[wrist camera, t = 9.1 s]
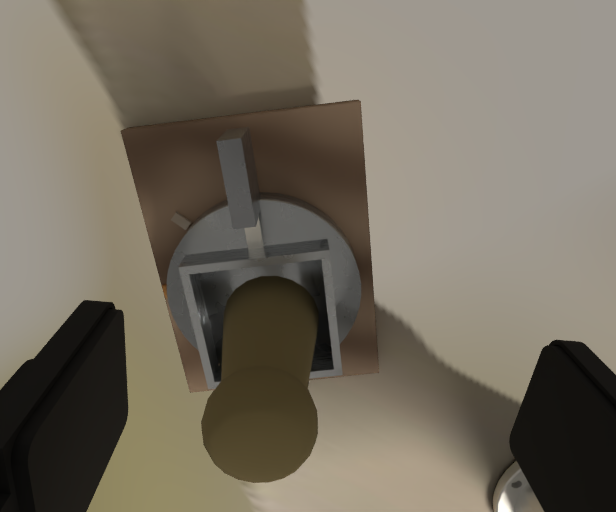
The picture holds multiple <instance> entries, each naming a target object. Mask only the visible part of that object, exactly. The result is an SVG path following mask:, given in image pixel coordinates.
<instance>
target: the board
mask: <svg viewBox="0 0 616 512" xmlns="http://www.w3.org/2000/svg"><path fill="white" fill-rule="evenodd" d="M244 127H249V128H250V134H251V141H252V147H253V153H254V159H255V166H256V172H257V178H258V184H259V191H260V192H268V193H279V194H284V195H289V196H292V197H295V198H298V199H301V200H304V201H306V202H308V203H310V204H312V205H314V206H315V207H317V208H318V209H320V210H321V211H323V212H324V213H325V214H327V215H328V216H329V217H330V218H331V219H332V220H333V221H334V222H335V223H336V224H337V225H338V226H339V227H340V229H341V230H342V231H343V233H344V234H345V236H346V237H347V239H348V241H349V243H350V245H351V247H352V250H353V253H354V256H355V259H356V263H357V267H358V270H359V274H360V281H361V300H360V307H359V310H358V314H357V317H356V320H355V322H354V324H353V326H352V328H351V330H350V331H349V333H348V334H347V336H346V337H345V339H344V340H343V341H342V342H341V343H340V355H341V364H342V374H343V375H340V376H330V377H321V378H311V379H309V380H313V379H322V378H332V377H341V376H351V375H360V374H370V373H379V364H378V349H377V335H376V320H375V305H374V291H373V276H372V261H371V247H370V234H369V233H370V232H369V218H368V203H367V188H366V174H365V158H364V144H363V130H362V115H361V101H359V100H352V101H343V102H335V103H327V104H319V105H311V106H303V107H294V108H286V109H278V110H270V111H262V112H254V113H245V114H237V115H229V116H221V117H213V118H205V119H196V120H188V121H180V122H172V123H164V124H156V125H147V126H139V127H131V128H126V129H124V130H121V134H122V138H123V141H124V145H125V149H126V153H127V156H128V160H129V164H130V168H131V171H132V175H133V179H134V183H135V187H136V190H137V194H138V198H139V202H140V205H141V209H142V213H143V217H144V220H145V224H146V228H147V232H148V235H149V239H150V243H151V247H152V250H153V254H154V258H155V262H156V266H157V269H158V273H159V277H160V281H161V284H162V288H163V292H164V296H165V299H166V303H167V307H168V311H169V315H170V319H171V322H172V326H173V330H174V334H175V337H176V341H177V345H178V349H179V352H180V356H181V360H182V364H183V367H184V371H185V375H186V379H187V383H188V386H189V390H190V392H199V391H209V390H215V389H208V386H207V382H206V378H205V374H204V370H203V366H202V362H201V358H200V354H199V351H198V350H197V349H196V348H195V347H194V346H193V345H192V344H191V343H190V342H189V341H188V340H187V339H186V338H185V336H184V335H183V334H182V332H181V331H180V329H179V328H178V326H177V324H176V322H175V320H174V318H173V316H172V313H171V310H170V307H169V303H168V297H167V274H168V269H169V265H170V261H171V259H172V257H173V254H174V252H175V250H176V248H177V246H178V245H179V243H180V242H181V240H182V238H183V237H184V235H185V234H186V232H187V231H188V229H189V228H190V227H191V225H192V224H193V223H194V222H195V221H196V220H197V219H198V218H199V217H200V216H201V215H202V214H203V213H204V212H205V211H207V210H208V209H210V208H211V207H213V206H214V205H216V204H218V203H220V202H222V201H224V200H226V199H227V195H226V190H225V185H224V179H223V174H222V169H221V163H220V158H219V153H218V148H217V142H216V141H217V140H218V139H219V138H220V137H221V136H222V135H223V134H224V133H225V132H226V131H227V130H228V129H235V128H244ZM331 353H332V352H331ZM219 365H220V364H219Z"/></svg>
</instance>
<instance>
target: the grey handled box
mask: <svg viewBox="0 0 616 512" xmlns="http://www.w3.org/2000/svg"><path fill="white" fill-rule="evenodd" d="M216 142H217V148H218V153H219V158H220V163H221V169H222V174H223V179H224V185H225V190H226V195H227V199H226V200H224V201H222V202H220V203H218V204H216V205H214V206H213V207H211V208H210V209H208V210H207V211H205V212H204V213H203V214H202V215H201V216H200V217H199V218H198V219H197V220H196V221H195V222H194V223H193V224H192V225H191V227H190V228H189V229H188V231H187V232H186V234H185V235H184V237H183V238H182V240H181V242H180V243H179V245H178V246H177V248H176V250H175V252H174V254H173V257H172V259H171V261H170V265H169V269H168V274H167V297H168V303H169V307H170V310H171V313H172V316H173V318H174V320H175V322H176V324H177V326H178V328H179V329H180V331H181V332H182V334H183V335H184V336H185V338H186V339H187V340H188V341H189V342H190V343H191V344H192V345H193V346H194V347H195V348H196V349H197V350H198V351H199V354H200V358H201V362H202V366H203V370H204V374H205V378H206V382H207V386H208V389H216V387H217V386H218V385H219V383H220V382H221V373H222V346H223V318H224V310H225V306H226V303H227V300H228V298H229V297H230V296H231V294H232V293H233V292H234V290H235V289H236V288H238V287H239V286H240V285H242V284H243V283H245V282H246V281H248V280H251V279H254V278H257V277H260V276H280V277H283V278H287V279H291V280H293V281H295V282H296V283H298V284H300V285H301V286H303V287H304V288H305V289H306V290H307V291H308V292H309V293H310V295H311V296H312V297H313V298H314V300H315V303H316V305H317V308H318V311H319V325H318V331H317V337H316V342H315V348H314V354H313V360H312V365H311V371H310V377H309V379H311V378H321V377H330V376H340V375H343V374H342V364H341V355H340V343H341V342H342V341H343V340H344V339H345V337H346V336H347V334H348V333H349V331H350V330H351V328H352V326H353V324H354V322H355V320H356V317H357V314H358V310H359V307H360V300H361V281H360V274H359V270H358V267H357V263H356V259H355V256H354V253H353V250H352V247H351V245H350V243H349V241H348V239H347V237H346V236H345V234H344V233H343V231H342V230H341V229H340V227H339V226H338V225H337V224H336V223H335V222H334V221H333V220H332V219H331V218H330V217H329V216H328V215H327V214H325V213H324V212H323V211H321V210H320V209H318V208H317V207H315V206H314V205H312V204H310V203H308V202H306V201H304V200H301V199H298V198H295V197H292V196H289V195H284V194H279V193H268V192H260V191H259V184H258V178H257V172H256V166H255V159H254V153H253V147H252V141H251V134H250V128H249V127H244V128H235V129H228V130H227V131H226V132H225V133H224V134H223V135H222V136H221V137H220V138H219V139H218V140H217V141H216ZM331 352H332V353H331ZM219 364H220V365H219Z"/></svg>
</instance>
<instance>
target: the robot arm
mask: <svg viewBox="0 0 616 512" xmlns="http://www.w3.org/2000/svg"><path fill="white" fill-rule="evenodd" d="M127 395H128V394H127V374H126V353H125V333H124V315H123V311H122V310H116V309H115V306H114V304H113V303H112V302H101V301H89V300H85V301H83V302H82V303H81V304H80V305H79V306H78V307H77V308H76V310H75V311H74V312H73V313H72V314H71V316H70V317H69V318H68V319H67V320H66V321H65V323H64V324H63V325H62V326H61V327H60V329H59V330H58V331H57V332H56V333H55V334H54V336H53V337H52V338H51V339H50V340H49V341H48V343H47V344H46V345H45V346H44V347H43V349H42V350H41V351H40V352H39V353H38V354H37V356H36V357H35V358H34V359H31V360H27V361H26V362H25V363H24V364H23V365H22V366H21V367H20V368H19V369H18V370H17V371H16V373H15V374H14V375H13V376H12V377H11V378H10V380H9V381H8V382H7V383H6V384H5V385H4V386H3V388H2V389H1V390H0V512H86V511H87V509H88V507H89V504H90V502H91V500H92V498H93V496H94V494H95V491H96V489H97V487H98V485H99V482H100V480H101V478H102V476H103V474H104V471H105V469H106V467H107V465H108V462H109V460H110V458H111V456H112V454H113V451H114V449H115V447H116V445H117V442H118V440H119V438H120V436H121V434H122V432H123V429H124V427H125V424H126V421H127V416H128V396H127ZM509 442H510V448H511V451H512V454H513V455H514V457H515V459H516V461H515V462H514V463H513V464H512V465H511V466H510V467H509V468H508V469H507V470H506V471H505V473H504V474H503V475H502V477H501V478H500V480H499V481H498V484H497V486H496V488H495V490H494V496H493V510H494V512H616V375H615V374H614V373H613V372H612V371H611V370H610V369H609V368H608V367H607V366H606V365H605V364H604V363H603V362H602V361H601V360H600V359H599V358H598V357H597V356H596V355H595V354H594V353H593V352H592V351H591V350H590V349H589V348H588V347H587V346H586V345H585V344H584V343H582V342H576V341H563V340H554V341H552V342H551V343H550V344H549V346H548V345H547V346H545V347H544V348H543V349H542V351H541V354H540V356H539V359H538V362H537V365H536V367H535V370H534V372H533V375H532V378H531V380H530V383H529V386H528V389H527V391H526V394H525V397H524V399H523V402H522V405H521V407H520V410H519V413H518V415H517V418H516V421H515V423H514V426H513V429H512V431H511V434H510V441H509Z"/></svg>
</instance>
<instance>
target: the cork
mask: <svg viewBox="0 0 616 512" xmlns="http://www.w3.org/2000/svg"><path fill="white" fill-rule="evenodd" d="M318 325H319V311H318V308H317V305H316V303H315V300H314V298H313V297H312V296H311V295H310V293H309V292H308V291H307V290H306V289H305V288H304V287H303V286H301V285H300V284H298V283H296V282H295V281H293V280H291V279H287V278H283V277H280V276H260V277H257V278H254V279H251V280H248V281H246V282H245V283H243V284H242V285H240V286H239V287H238V288H236V289H235V290H234V292H233V293H232V294H231V296H230V297H229V298H228V300H227V303H226V306H225V310H224V318H223V346H222V373H221V382H220V383H219V385H218V386H217V387H216V389H215V390H214V391H213V393H212V394H211V395H210V397H209V398H208V401H207V404H206V408H205V411H204V415H203V418H202V422H201V424H202V434H203V443H204V446H205V448H206V450H207V452H208V453H209V455H210V457H211V459H212V460H213V462H214V464H215V465H216V466H217V467H219V468H220V469H221V470H222V471H223V472H224V473H226V474H228V475H230V476H232V477H234V478H236V479H238V480H243V481H248V482H252V483H259V482H271V481H275V480H279V479H283V478H285V477H286V476H288V475H290V474H292V473H293V472H295V471H296V470H297V469H298V468H299V467H300V466H301V465H302V464H303V463H304V462H305V460H306V459H307V458H308V457H309V456H310V454H311V451H312V449H313V447H314V444H315V441H316V438H317V434H318V418H317V409H316V407H315V404H314V402H313V400H312V397H311V395H310V393H309V390H308V389H307V388H308V383H309V377H310V371H311V365H312V360H313V354H314V348H315V342H316V337H317V331H318Z"/></svg>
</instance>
